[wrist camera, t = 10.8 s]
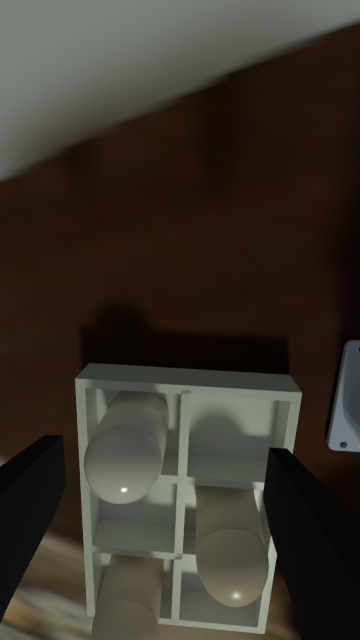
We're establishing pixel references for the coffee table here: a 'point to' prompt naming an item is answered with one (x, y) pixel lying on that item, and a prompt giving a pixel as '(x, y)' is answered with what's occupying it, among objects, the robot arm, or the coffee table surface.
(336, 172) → the coffee table surface
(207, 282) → the coffee table surface
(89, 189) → the coffee table surface
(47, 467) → the robot arm
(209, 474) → the egg carton
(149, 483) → the egg
